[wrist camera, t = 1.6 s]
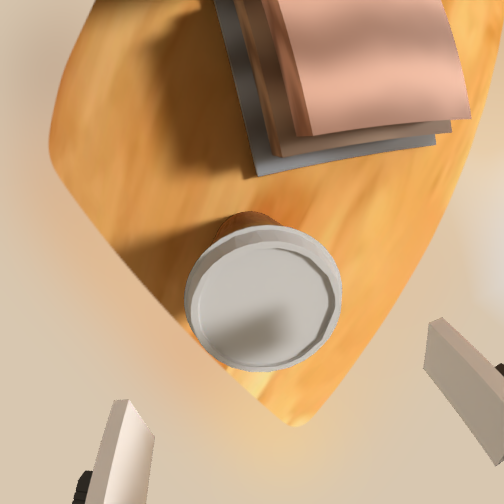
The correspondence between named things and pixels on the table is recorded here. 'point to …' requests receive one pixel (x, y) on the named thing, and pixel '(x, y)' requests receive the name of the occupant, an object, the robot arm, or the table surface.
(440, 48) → the pink brown stepped block
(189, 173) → the table surface
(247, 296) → the disposable coffee cup
